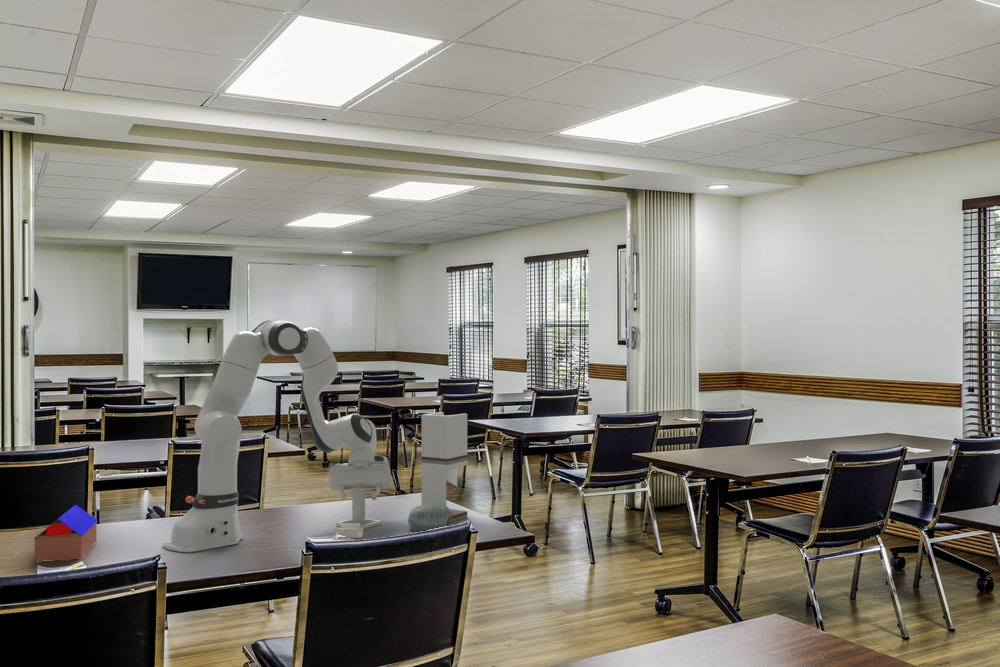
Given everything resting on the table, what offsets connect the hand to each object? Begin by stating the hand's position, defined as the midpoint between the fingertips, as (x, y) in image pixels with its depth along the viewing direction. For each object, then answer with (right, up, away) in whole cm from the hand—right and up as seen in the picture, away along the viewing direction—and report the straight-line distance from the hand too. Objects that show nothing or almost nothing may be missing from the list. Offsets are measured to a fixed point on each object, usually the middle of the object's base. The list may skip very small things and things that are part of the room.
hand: (359, 499), depth 256 cm
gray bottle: (0, -8, 0) cm, 8 cm away
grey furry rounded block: (+23, -9, -5) cm, 25 cm away
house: (-78, -9, -29) cm, 83 cm away
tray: (0, -9, 0) cm, 9 cm away
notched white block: (+27, -9, +12) cm, 31 cm away
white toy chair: (-1, -9, -11) cm, 14 cm away
